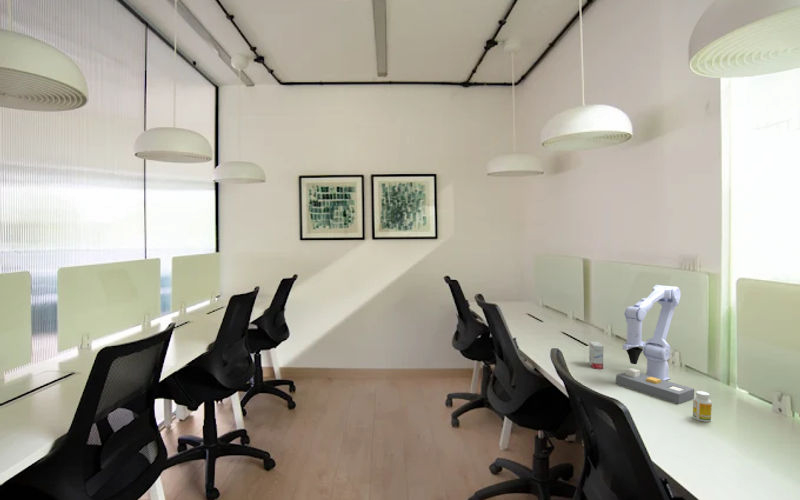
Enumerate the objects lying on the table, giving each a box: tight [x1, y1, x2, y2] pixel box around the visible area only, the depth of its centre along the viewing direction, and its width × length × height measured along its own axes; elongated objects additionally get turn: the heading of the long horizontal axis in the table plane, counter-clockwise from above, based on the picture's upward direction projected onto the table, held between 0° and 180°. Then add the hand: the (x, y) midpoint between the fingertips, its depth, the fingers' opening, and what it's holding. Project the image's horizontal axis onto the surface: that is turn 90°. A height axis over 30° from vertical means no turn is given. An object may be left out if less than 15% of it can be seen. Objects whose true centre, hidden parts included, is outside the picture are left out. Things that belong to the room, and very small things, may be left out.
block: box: [625, 367, 641, 378], centre depth 184 cm, size 4×4×4 cm
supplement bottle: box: [692, 390, 713, 423], centre depth 149 cm, size 5×5×10 cm
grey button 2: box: [670, 386, 684, 391], centre depth 169 cm, size 4×4×4 cm
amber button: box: [646, 377, 661, 384], centre depth 176 cm, size 4×4×4 cm
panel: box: [615, 371, 695, 405], centre depth 176 cm, size 12×26×4 cm, turn 30°
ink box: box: [588, 341, 604, 370], centre depth 209 cm, size 9×5×12 cm, turn 168°
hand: (633, 363), depth 184 cm, fingers closed
